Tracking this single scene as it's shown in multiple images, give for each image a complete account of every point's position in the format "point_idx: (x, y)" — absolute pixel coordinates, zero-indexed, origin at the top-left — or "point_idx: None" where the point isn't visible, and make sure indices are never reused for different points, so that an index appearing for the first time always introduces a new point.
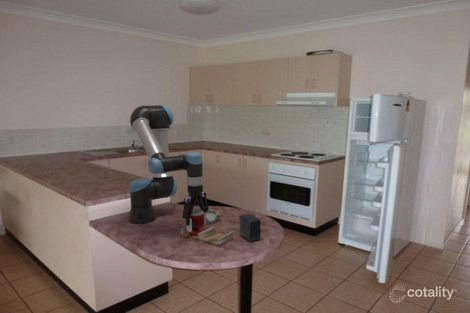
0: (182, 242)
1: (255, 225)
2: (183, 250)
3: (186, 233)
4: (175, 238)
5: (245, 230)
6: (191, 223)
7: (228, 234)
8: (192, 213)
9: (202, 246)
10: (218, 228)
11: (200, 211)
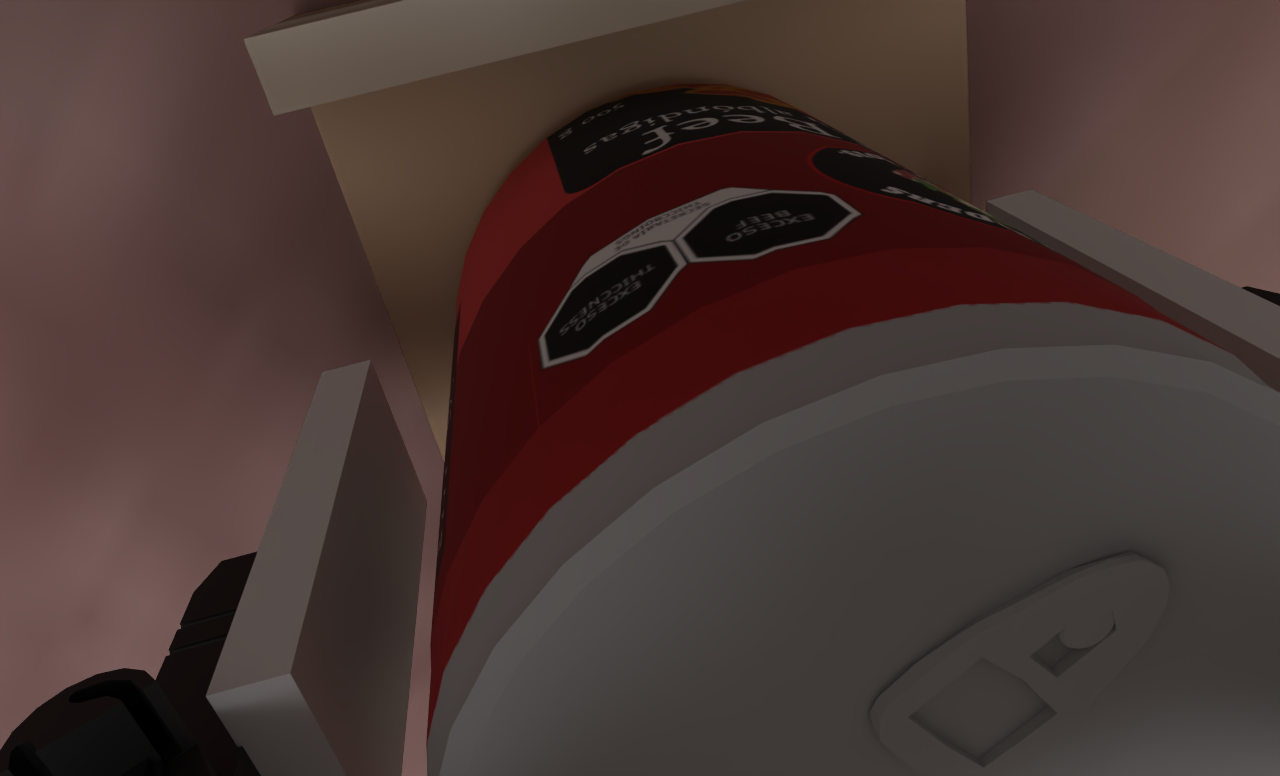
0: (145, 402)
1: None
2: (5, 715)
3: (435, 127)
4: (67, 49)
5: None
6: (398, 690)
7: None
8: (667, 765)
9: (412, 752)
10: (1261, 269)
11: (1182, 737)
